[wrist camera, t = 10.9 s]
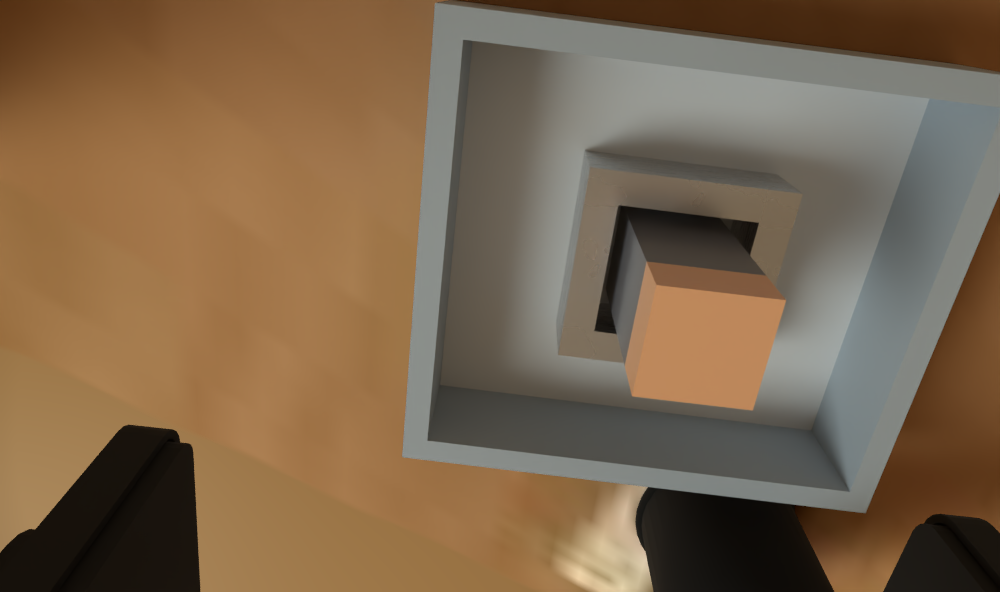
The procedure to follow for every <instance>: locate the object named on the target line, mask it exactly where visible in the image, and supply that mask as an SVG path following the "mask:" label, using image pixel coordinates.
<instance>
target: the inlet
mask: <svg viewBox="0 0 1000 592" xmlns="http://www.w3.org/2000/svg"><path fill="white" fill-rule="evenodd" d="M802 196H803V193H801V192H800V191H799V190H797V189H796V188H795V187H793V186H792V185H791V184H789V183H788V182H787V181H786V180H784V179H783V178H782V177H780V176H779V175H778V174H772V173H764V172H756V171H748V170H740V169H732V168H724V167H716V166H708V165H700V164H692V163H684V162H676V161H668V160H660V159H652V158H644V157H636V156H628V155H620V154H613V153H605V152H597V151H589V150H585V151H584V157H583V163H582V169H581V175H580V181H579V187H578V193H577V199H576V205H575V211H574V217H573V223H572V229H571V235H570V241H569V247H568V253H567V259H566V265H565V271H564V277H563V283H562V289H561V295H560V301H559V307H558V313H557V319H556V333H557V347H558V355H561V356H570V357H578V358H586V359H594V360H602V361H610V362H618V363H624V361H623V357H622V353H621V349H620V345H619V341H618V337H617V333H616V329H615V325H614V320H613V316H612V312H611V308H610V304H607V303H600V298H601V293H602V288H603V283H604V278H605V272H606V267H607V262H608V257H609V252H610V246H611V241H612V236H613V231H614V226H615V220H616V215H617V210H618V205H621V206H629V207H637V208H645V209H653V210H661V211H669V212H677V213H685V214H693V215H701V216H709V217H717V218H725V219H733V222H732V225H731V229H730V231H731V233H732V234H733V235H734V236H735V238H736V239H737V240H738V241H739V243H740V244H741V245H742V246H743V247H744V249H745V250H746V251H747V252H748V254H749V255H750V256H751V257H752V259H753V260H754V261H755V262H756V264H757V265H758V266H759V267H760V268H761V270H762V271H763V272H764V273H765V275H766V276H767V277H768V278H769V280H770V281H771V282H772V283H773V285H774V286H775V285H776V282H777V279H778V275H779V272H780V269H781V265H782V262H783V259H784V255H785V252H786V249H787V245H788V242H789V239H790V236H791V232H792V229H793V226H794V222H795V219H796V216H797V212H798V209H799V206H800V202H801V199H802Z"/></svg>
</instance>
